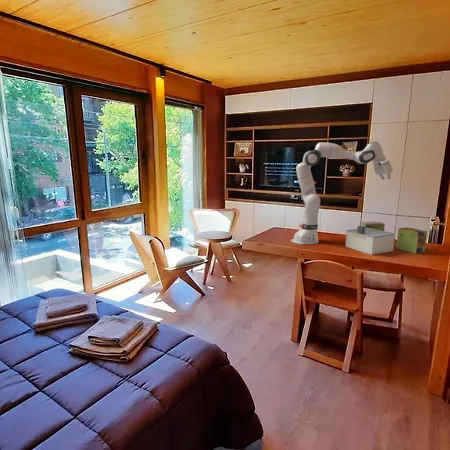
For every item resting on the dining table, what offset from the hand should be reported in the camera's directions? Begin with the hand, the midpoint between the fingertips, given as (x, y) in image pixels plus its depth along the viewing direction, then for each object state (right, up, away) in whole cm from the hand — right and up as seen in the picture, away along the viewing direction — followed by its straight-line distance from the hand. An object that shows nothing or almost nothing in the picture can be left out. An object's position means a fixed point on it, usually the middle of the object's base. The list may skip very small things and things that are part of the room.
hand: (386, 179), depth 245 cm
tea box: (-1, -47, +22) cm, 52 cm away
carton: (-15, -52, -4) cm, 55 cm away
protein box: (+13, -53, -8) cm, 56 cm away
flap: (-15, -41, -7) cm, 44 cm away
